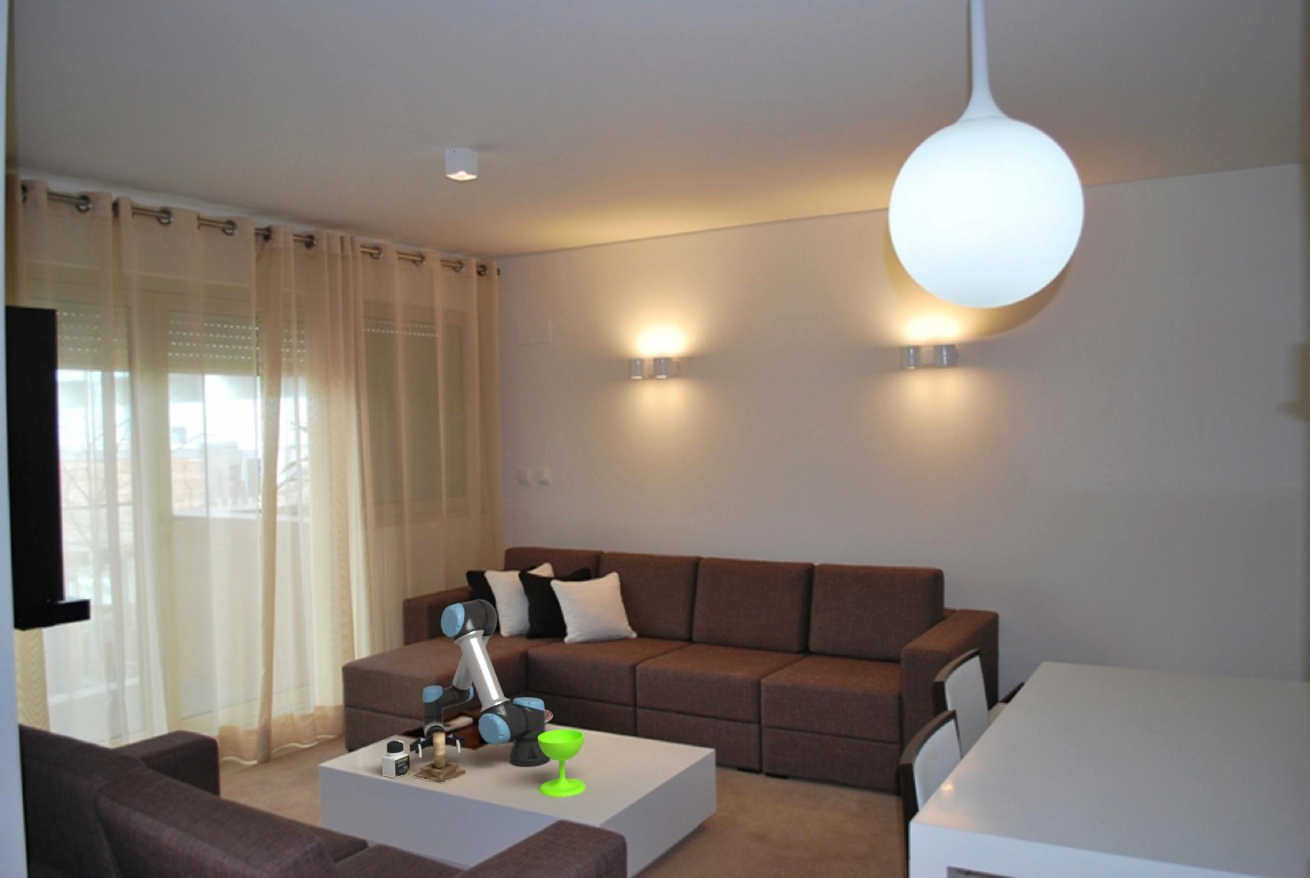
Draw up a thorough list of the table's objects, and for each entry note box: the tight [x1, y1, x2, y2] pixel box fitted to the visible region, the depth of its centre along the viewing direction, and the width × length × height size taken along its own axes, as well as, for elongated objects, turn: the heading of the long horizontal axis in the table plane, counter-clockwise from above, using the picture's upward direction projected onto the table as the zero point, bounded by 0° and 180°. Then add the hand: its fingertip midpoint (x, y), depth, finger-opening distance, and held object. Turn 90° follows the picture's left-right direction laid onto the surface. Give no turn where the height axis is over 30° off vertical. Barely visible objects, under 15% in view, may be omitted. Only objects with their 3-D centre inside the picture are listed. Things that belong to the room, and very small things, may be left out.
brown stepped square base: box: [413, 760, 467, 783], centre depth 349 cm, size 14×12×3 cm
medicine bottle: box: [381, 739, 411, 779], centre depth 351 cm, size 7×7×12 cm
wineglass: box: [538, 728, 587, 798], centre depth 332 cm, size 16×16×18 cm
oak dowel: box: [432, 732, 447, 770], centre depth 349 cm, size 4×4×14 cm
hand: (439, 751), depth 346 cm, fingers open, 13 cm apart
